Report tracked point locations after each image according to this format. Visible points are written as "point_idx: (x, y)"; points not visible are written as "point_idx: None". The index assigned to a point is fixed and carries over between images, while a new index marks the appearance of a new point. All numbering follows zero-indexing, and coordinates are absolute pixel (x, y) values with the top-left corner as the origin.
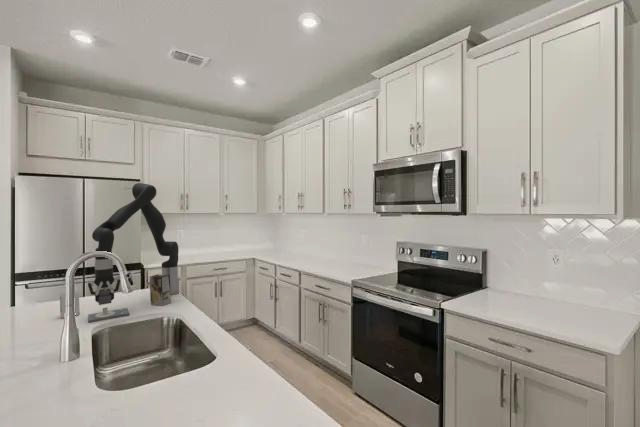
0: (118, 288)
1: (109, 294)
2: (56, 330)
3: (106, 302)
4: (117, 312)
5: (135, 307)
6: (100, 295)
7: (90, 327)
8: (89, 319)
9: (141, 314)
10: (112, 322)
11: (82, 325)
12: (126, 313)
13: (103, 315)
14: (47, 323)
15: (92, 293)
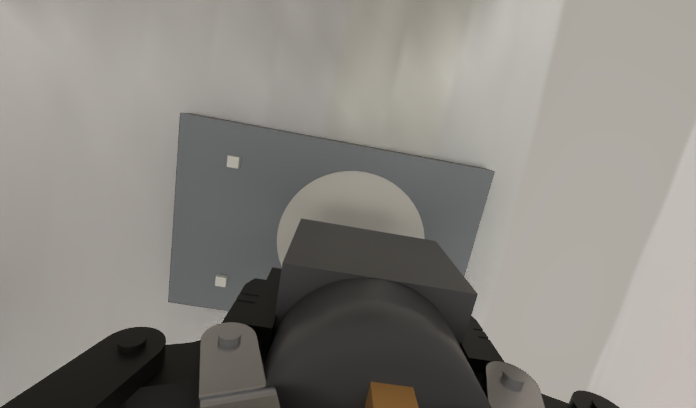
0: (71, 364)
1: (302, 301)
2: (682, 168)
3: (356, 234)
4: (261, 223)
5: (111, 314)
6: (448, 323)
7: (510, 26)
8: (478, 197)
9: (95, 53)
10: (347, 17)
11: (531, 142)
12: (204, 122)
13: (372, 214)
14: (652, 380)
15: (602, 404)
